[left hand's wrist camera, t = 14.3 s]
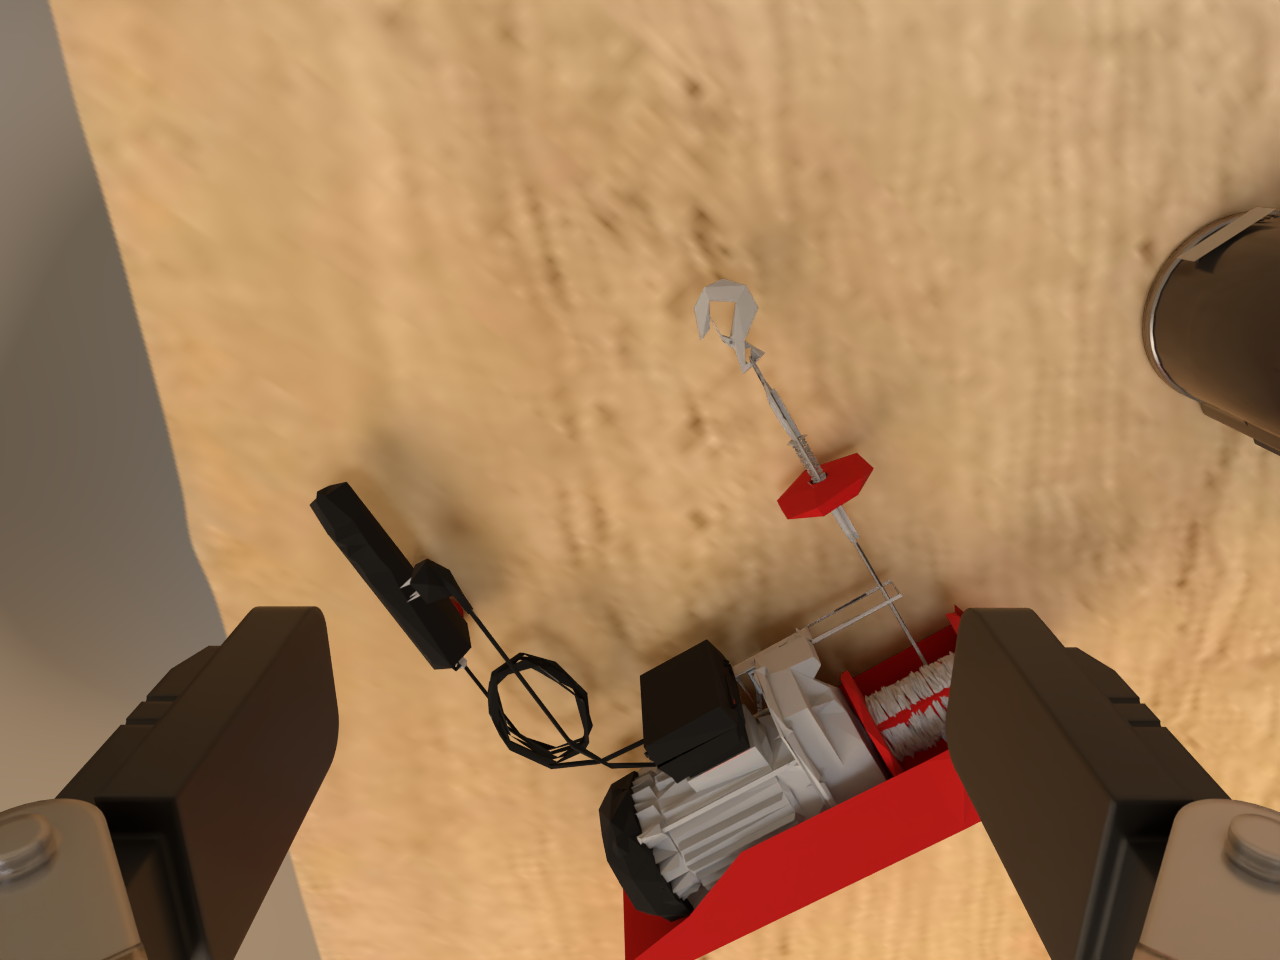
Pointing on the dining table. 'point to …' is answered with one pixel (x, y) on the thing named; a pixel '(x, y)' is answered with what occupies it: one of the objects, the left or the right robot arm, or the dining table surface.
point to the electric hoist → (727, 733)
